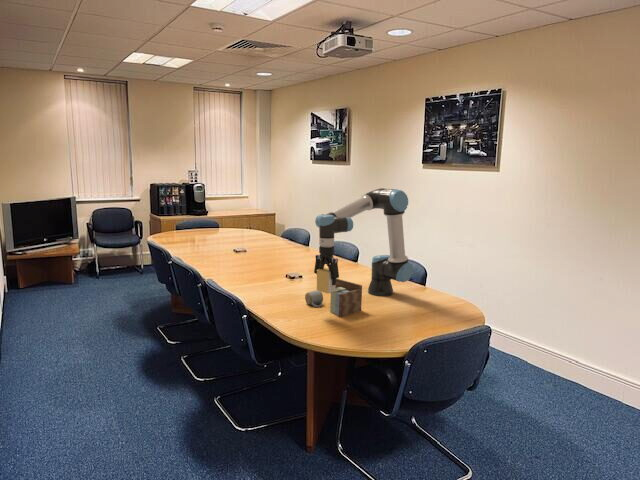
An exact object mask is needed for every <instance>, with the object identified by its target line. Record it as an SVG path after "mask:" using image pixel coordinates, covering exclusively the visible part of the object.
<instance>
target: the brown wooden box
mask: <svg viewBox="0 0 640 480" xmlns="http://www.w3.org/2000/svg"><path fill="white" fill-rule="evenodd" d="M362 295H363V285H362V284H358V283H355V282H351V281H347V280H343V279H340V278H336V285H335V292H332V293H330V303H329V304H330V305H329V306H330V309H329V311H330V313H331V314H334V315H337V316H338V318H344V317H345V316H349V315H353V314H356V313H359V312H361V311H362V301H363V299H362V297H363V296H362Z"/></svg>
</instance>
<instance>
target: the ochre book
mask: <svg viewBox="0 0 640 480" xmlns="http://www.w3.org/2000/svg"><path fill="white" fill-rule="evenodd" d="M330 273H331V272H329V268H327V267H324V268H323V269H317V274H316V290H318V291H321V292H322V293H325V294H331V293H332V292H335V291H332V292H330V279H331V275H330ZM333 277H334V276H333Z"/></svg>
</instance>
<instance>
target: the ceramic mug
mask: <svg viewBox="0 0 640 480" xmlns="http://www.w3.org/2000/svg"><path fill="white" fill-rule="evenodd" d="M304 295H305V296H304V300H305V303H306V304H307V305H309V306H313V307H315V308H321V307H322V306H323V302H324V295H323V292H321V291H318V290H317V289H316V290H312V291H309V292H308V291H307V292H306V293H305V294H304Z"/></svg>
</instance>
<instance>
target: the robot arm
mask: <svg viewBox="0 0 640 480" xmlns="http://www.w3.org/2000/svg"><path fill="white" fill-rule="evenodd" d="M408 206H409V197H408V195H407V193H406V192H405V191H403V190H401V189H395V188H376V189H373V190H371V191H369V192H366V193H364V194H362V195H361V197H360V198H358V199H355V200H354V201H352V202H349V203H348V204H345V205H344V206H341V207H339V208H337V209H335V210H333V211H331V212H328V213H326V214H323V213H321V214H317V216H316V217H315V221H314V223H315V226H316V227H317V228H319V231H318V232H319V234H318V236H319V238H318V239H319V246H318V250H319V251H318V253H319V254H316V255H315V263H314V270H313V273H314V274H316V275H317V269H323V268H325V265H326V266H327V267H328V269H329V272H331V273H330V275H331V279H330V292H332V291H335V285H336V279H340V271H339V264H338V262H339V258H335V257H334V254H335V234H338V233H339V234H340V233H347V232H351V231H352V230H353V229H354V221H353V219H352V218H353V217H355V216H357V215H359V214H362V213H363V212H365V211H372V210H373V209H375V210H377V209H380V210H383V215H384V216H385V217H386V221H387V222H386V224H387V234H388V236H387V237H388V246H389V247H388V249H389V255H388V254H380V255H375V256H373V257H372V261H371V281H370V283H369V285H368V288H367V293H368V294H370V295H372V296H376V297H377V296H379V297H386V296H392V295H393V294H394V288H393V284H392V281H397V282H401V283H405V282H408V281H409V280H410V279H411V277H412V275H413V273H414V267H413V264H412V263H410V262H409V257H408V256H407V255H406V250H405V237H404V236H405V234H404V225H403V224H404V223H403V222H404V221H403V215H404V214H405V213H406V212H405V211H406V210H407V208H408ZM333 276H334V277H333Z"/></svg>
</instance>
